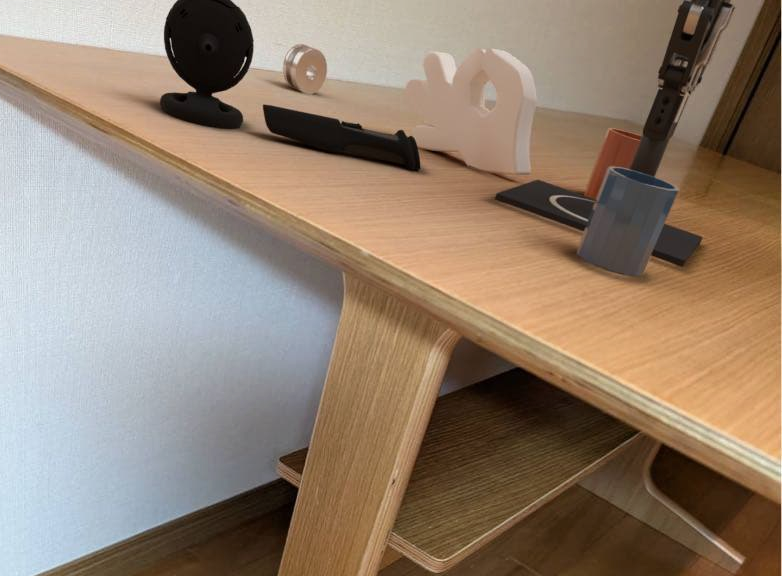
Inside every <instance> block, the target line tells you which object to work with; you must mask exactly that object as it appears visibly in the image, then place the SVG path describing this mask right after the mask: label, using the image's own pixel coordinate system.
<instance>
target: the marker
mask: <svg viewBox="0 0 782 576" xmlns="http://www.w3.org/2000/svg"><path fill="white" fill-rule="evenodd" d="M659 89H663V88H659V87H658V90H659ZM680 95H682V94H680ZM682 96H685V97H684V99H683V102H682V104H681V106H680V109H679V111H678V114H677V116H676V119H675V121H674V124H673V126H672V128H671V131H670V133H669V136H668V138H667V139H666V140H664V141H657V140H654V139H651V138H648V137H645V136H644V135H643V134H641V136H642V137H641V140H640V142H639V145H638V148H637V150H636V153H635V156H634V158H633V161H632V163H631V166H630V169H631V170H635V171H638V172H642V173H645V174H648V175H651V176H654V177H656V175H657V172H658V169H659V167H660V164H661V162H662V160H663V158H664V155H665V152H666V150H667V147H668V144H669V142H670V139H671V138H672V137H671V135H672V132H673V130H674V127H675V125H676V123H677V121H678V119H679V116H680V114H681V111H682V109H683V106H684V104H685V101H686V99H687V96H689V93H688V92H687V94H686V95H682ZM681 115H682V114H681ZM679 120H680V119H679ZM670 137H671V138H670Z"/></svg>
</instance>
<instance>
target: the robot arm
mask: <svg viewBox="0 0 782 576" xmlns="http://www.w3.org/2000/svg"><path fill="white" fill-rule="evenodd" d="M731 1H732V0H682V1H681V2H680V5H679V7H678V9H677V15H676V19H675V22H674V25H673V28H672V32H671V35H670V38H669V40H668V43H667V46H666V48H665V54H664V57H663V60H662V62H661V66H660V67H659V69H658V72H657V73H658V76H657V79H658V80H657V82H658V83H657V88H658V90H657V93H656V95H655V97H654V99H653V103H652V105H651V108H650V110H649V113H648V115H647V118H646V121H645V123H644V126H643V128H642V135H644V136H645V137H648V138H651V139H654V140H657V141H664V140H666V139H667V138H668V136H669V133H670V131H671V128H672V126H673V124H674V121H675V119H676V116H677V114H678V111H679V109H680V106H681V104H682V102H683V99H684V97H685V96H682V95H686V94H687V92H688V93H689V94H688V96H687V99H686V101H685V104H684V106H683V109H682V111H681V114H680V116H679V119H678V121H677V123H676V125H675V127H674V130H673V132H672V135H671V137H670V139H671V138H673V136H674V134H675V132H676V130H677V129H676V128H677V126H678V124H679V122H680V119H681V117H682V115H683V112H684V109H685V107H686V104H687V102H688V100H689V97H690V96H692V94H693V92H695V91H696V89H697V87H698V86H699V84H701V82H702V81H703V75H704V73H705V71H706V69H707V67H708V65H710V64H711V63H712V61H713V59H714V56H715V54H716V51H717V49H718V46H719V44H720V41H721V39H722V38H723V37H722V36H723V34H724V32H725V31H726V29H728V28H729V27H730V25H731V22H732V20H733V17H734V15H735V13H736V9H737V7H736V6H734V5H735V4H732V3H731ZM686 62H687V64H686V66H684V65H685V63H686ZM659 88H663V89H659ZM680 94H682V95H680Z"/></svg>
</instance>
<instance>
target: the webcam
mask: <svg viewBox="0 0 782 576" xmlns="http://www.w3.org/2000/svg"><path fill="white" fill-rule="evenodd" d="M254 42H255V40H254V36H253V31H252V27H251V25H250V23H249V21H248V19H247V16H246V14H245V13H244V11H243V10H242V9H241V7H240V6H238V5H237V4H236V3H235V2H233V0H176V1H175V2H174V3H173V5H172V7H171V8H170V10H169V11H168V13H167V15H166V18H165V22H164V26H163V43H164V50H165V53H166V56H167V59H168V61H169V63H170V66H171V67H172V69H173V70H174V72H175V73H176V74H177V76H178V77H179V78H180V79H181V80H182V81H183V82H184V83H186V84H187V85H188V86H190V87H191V88H193V89H194V90H195V91H188V92H174V91H173V92H166V93H163V94H162V95H161V97H160V99H159V105H160V109H161V110H162V111H163V112H164V113H166V114H167V115H169V116H171V117H174V118H175V119H179V120H182V121H185V122H188V123H191V124H196V125H200V126H205V127H209V128H216V129H224V130H235V129H238V128H240V127H241V126H242V125H243V122H244V116H243V113H242V111H241V110H240V109H238V108H236V107H235V106H233V105H231V104H228V103H225V102H223V101H222V100H220V99H219V98H218V97H215V96H214V95H213V94H217V93H222V92H225V91H229V90H230V89H232V88H234V87H235V86H237V85H238V84H239V83H240V82H241V81H242V80H243V79H244V78H245V76H246V75H247V73H248V72H249V70H250V69H249V68H250V66H251V64H252V62H253V58H254V57H253V56H254V49H255V48H254V47H255V46H254V45H255V43H254Z"/></svg>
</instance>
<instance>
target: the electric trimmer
mask: <svg viewBox="0 0 782 576" xmlns="http://www.w3.org/2000/svg"><path fill="white" fill-rule="evenodd" d="M262 111H263V117H264V122H265V126H266V128H267V129H268V131H269V132H270V133H271V134H273V135H274V134H275V135H277V136H280V137H283V138H285V139H286V138H287V139H289V140H293V141H296V142H299V143H302V144H305V145H307V146H310V147H313V148H316V149H317V150H321V151H324V152H327V153H337V152H346V153H348V154H349V153H350V154H355V155H359V156H363V157H368V158H372V159H376V160H381V161H386V162H389V163H395V164H398V165H404V166H405V168H407V169H408V170H409V171H411V172H414V171H415V170H416V171H418V172H419V171H420V170H421V158H420V152H419V148H418V147H417V143H416V141H415V139H414V137H413V136H412V135H409V136H407V134H406V133H405V131H404V130H403V129H398V130H397V131H396V132H395V133H394V134H392V133H386V132H380V131H375V130H371V129H367V128H363V126H362V125H361V124H360V123H354V122H347V121H344V120H341V121H340V120H339V118H334V117H329V116H325V115H320V114H314V113H310V112H305V111H301V110H296V109H291V108H287V107H286V108H285V107H281V106H276V105H272V104H271V105H270V104H265V103H264V104H262Z"/></svg>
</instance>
